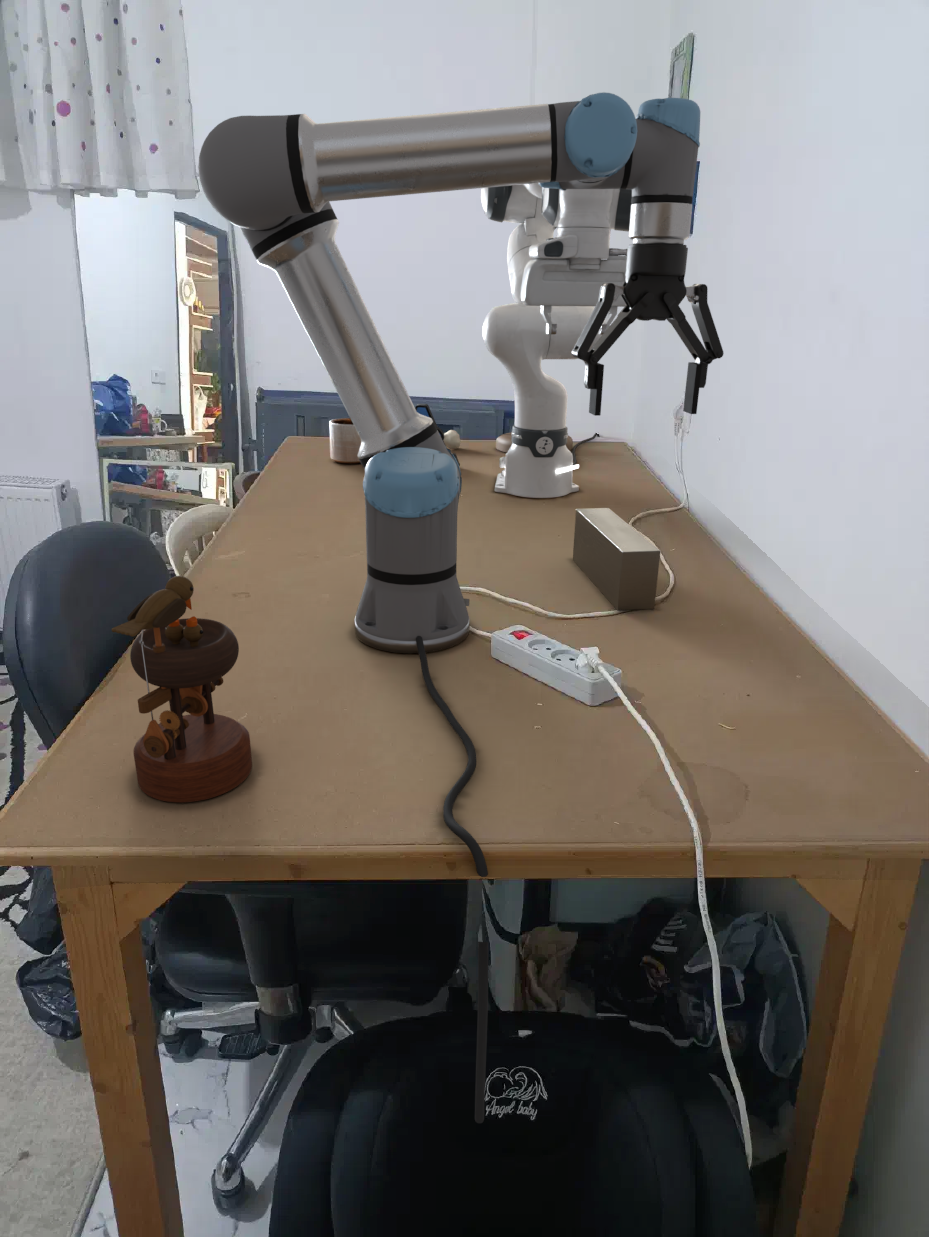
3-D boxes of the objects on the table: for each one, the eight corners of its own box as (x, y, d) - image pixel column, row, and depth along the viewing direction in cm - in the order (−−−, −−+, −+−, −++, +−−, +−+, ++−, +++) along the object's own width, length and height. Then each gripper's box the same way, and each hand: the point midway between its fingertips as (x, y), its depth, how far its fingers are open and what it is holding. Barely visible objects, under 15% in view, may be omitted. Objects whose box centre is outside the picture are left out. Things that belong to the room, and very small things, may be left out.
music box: (228, 817, 74) (184, 604, 66) (110, 816, 75) (54, 607, 68) (282, 730, 88) (250, 546, 80) (182, 730, 89) (142, 549, 82)
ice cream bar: (502, 464, 212) (503, 447, 210) (493, 443, 238) (494, 428, 236) (585, 464, 213) (587, 448, 211) (568, 443, 239) (569, 428, 237)
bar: (654, 608, 122) (660, 550, 119) (617, 610, 121) (622, 552, 118) (604, 558, 143) (608, 507, 140) (572, 559, 143) (575, 508, 139)
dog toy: (457, 445, 233) (458, 427, 231) (461, 450, 228) (461, 431, 226) (384, 447, 230) (384, 428, 228) (386, 451, 224) (386, 432, 223)
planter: (327, 456, 217) (325, 418, 214) (369, 454, 220) (368, 417, 217) (334, 465, 208) (332, 425, 204) (377, 463, 211) (376, 424, 207)
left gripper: (736, 245, 112) (716, 408, 120) (554, 241, 108) (546, 410, 116) (764, 243, 105) (741, 416, 113) (571, 239, 101) (561, 419, 109)
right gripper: (635, 249, 146) (628, 333, 151) (520, 247, 143) (517, 332, 148) (648, 248, 140) (640, 336, 146) (528, 246, 137) (525, 335, 143)
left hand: (642, 413), depth 115 cm, fingers open, 13 cm apart
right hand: (577, 334), depth 147 cm, fingers open, 8 cm apart
